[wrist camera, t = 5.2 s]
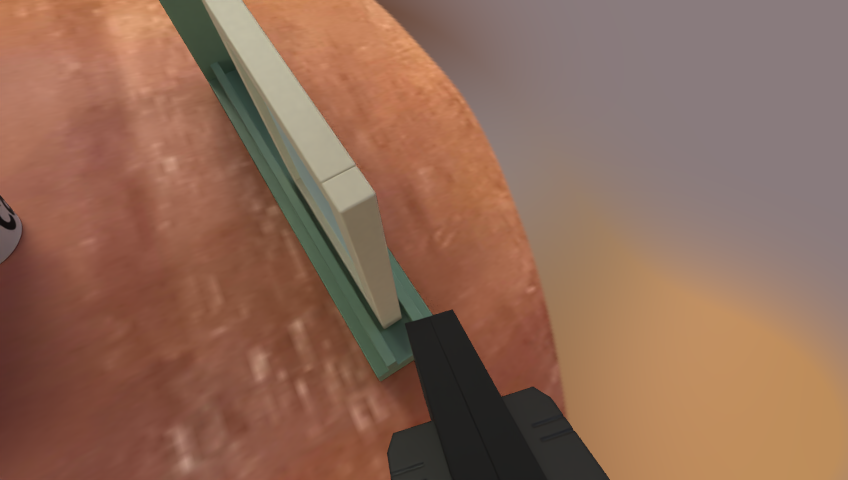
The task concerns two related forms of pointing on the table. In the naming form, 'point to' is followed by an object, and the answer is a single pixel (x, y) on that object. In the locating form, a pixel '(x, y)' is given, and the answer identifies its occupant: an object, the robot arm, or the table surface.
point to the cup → (8, 230)
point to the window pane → (312, 157)
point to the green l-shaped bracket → (298, 198)
